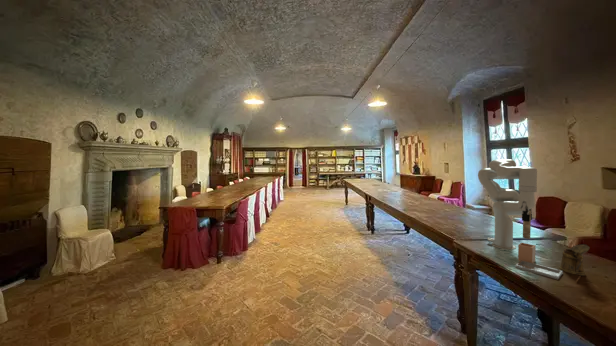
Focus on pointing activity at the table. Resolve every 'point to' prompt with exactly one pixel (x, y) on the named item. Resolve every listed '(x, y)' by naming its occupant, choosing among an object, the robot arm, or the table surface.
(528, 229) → the dowel
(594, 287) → the table surface
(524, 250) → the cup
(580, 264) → the wooden mug
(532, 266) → the tray
